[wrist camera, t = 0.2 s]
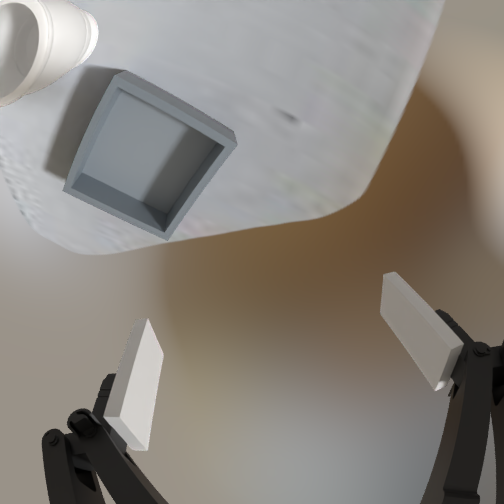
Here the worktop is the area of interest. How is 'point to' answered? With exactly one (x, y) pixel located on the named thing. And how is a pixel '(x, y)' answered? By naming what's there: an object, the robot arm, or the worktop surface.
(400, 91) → the worktop surface
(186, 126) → the bin
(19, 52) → the white tapered cylinder
